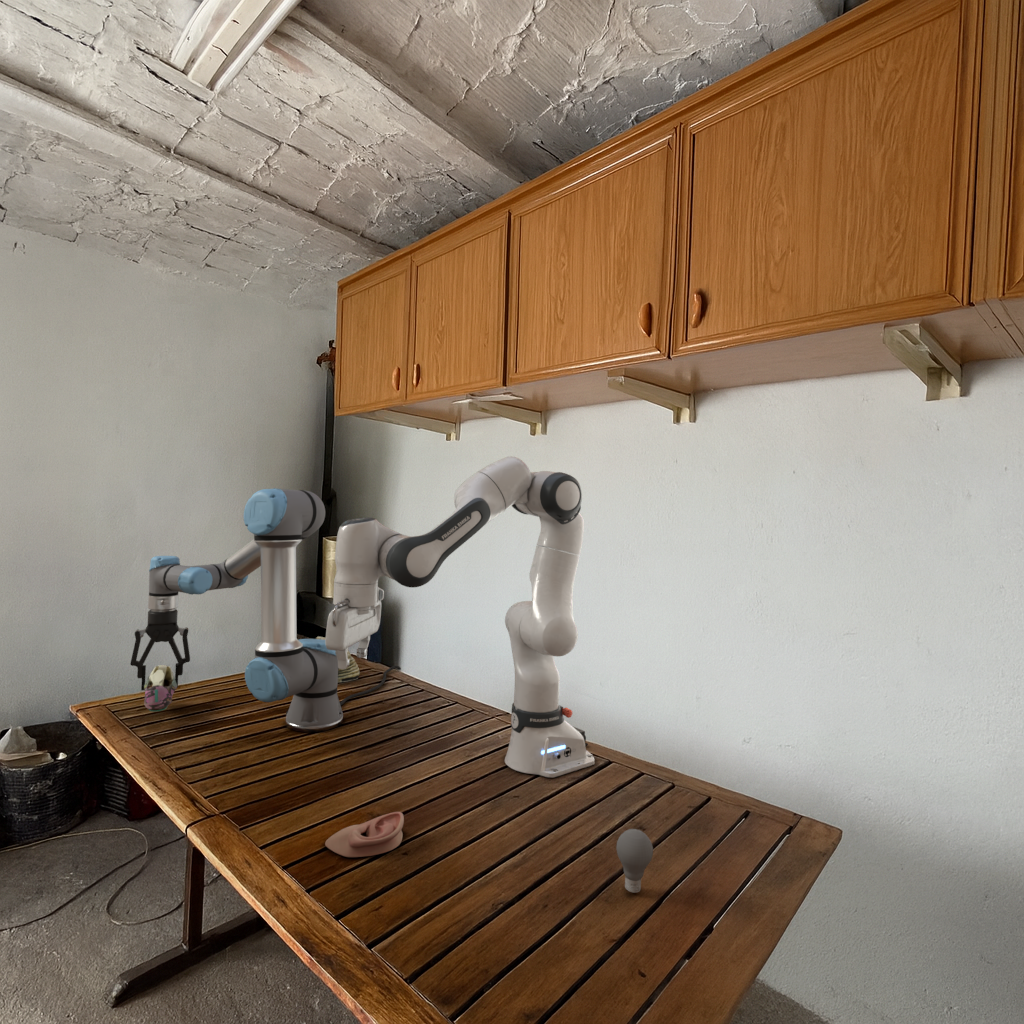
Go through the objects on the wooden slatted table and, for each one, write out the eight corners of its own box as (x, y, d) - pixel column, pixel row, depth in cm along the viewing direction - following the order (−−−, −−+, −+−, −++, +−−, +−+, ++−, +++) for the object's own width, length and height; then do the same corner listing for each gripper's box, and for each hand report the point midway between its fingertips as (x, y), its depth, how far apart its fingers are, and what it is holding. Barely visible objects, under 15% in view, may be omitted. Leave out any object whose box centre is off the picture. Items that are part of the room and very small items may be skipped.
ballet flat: (177, 685, 189) (178, 656, 189) (175, 711, 167) (176, 678, 167) (145, 687, 185) (146, 658, 185) (138, 714, 163) (139, 681, 163)
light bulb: (610, 879, 108) (613, 822, 108) (644, 879, 109) (647, 822, 109) (619, 902, 102) (622, 840, 102) (655, 901, 103) (658, 840, 103)
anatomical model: (317, 830, 113) (346, 800, 124) (316, 852, 113) (345, 821, 124) (387, 841, 110) (410, 810, 121) (386, 864, 110) (410, 831, 121)
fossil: (300, 681, 213) (301, 637, 213) (350, 673, 226) (352, 631, 226) (311, 688, 207) (313, 642, 207) (362, 679, 219) (364, 636, 219)
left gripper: (120, 613, 175) (116, 694, 176) (202, 610, 184) (199, 688, 185) (122, 608, 182) (119, 687, 182) (202, 606, 191) (199, 681, 192)
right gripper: (349, 604, 120) (346, 677, 120) (386, 590, 140) (384, 652, 141) (318, 602, 121) (315, 674, 121) (359, 588, 141) (357, 650, 141)
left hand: (159, 687), depth 184 cm, fingers closed on ballet flat, 8 cm apart
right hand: (352, 662), depth 131 cm, fingers open, 8 cm apart
